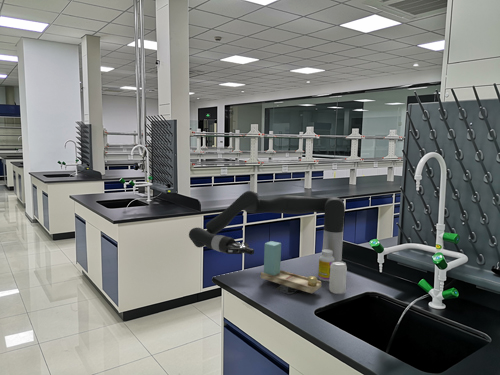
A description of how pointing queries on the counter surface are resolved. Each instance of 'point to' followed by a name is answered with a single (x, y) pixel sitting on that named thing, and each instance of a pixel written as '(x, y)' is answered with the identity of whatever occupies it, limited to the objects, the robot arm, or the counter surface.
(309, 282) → the counterweight
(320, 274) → the supplement bottle
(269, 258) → the block
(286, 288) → the fulcrum
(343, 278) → the can
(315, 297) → the counter surface
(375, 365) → the counter surface
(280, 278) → the beam
